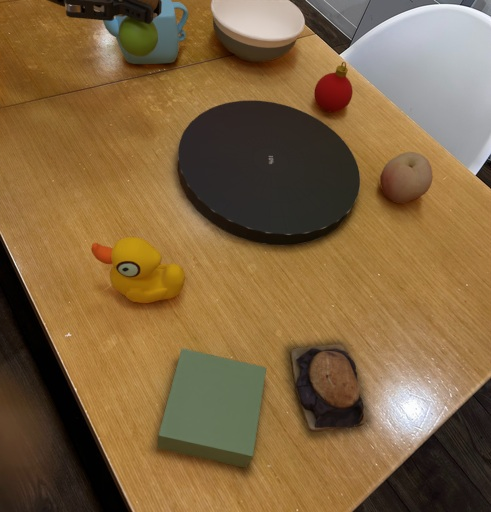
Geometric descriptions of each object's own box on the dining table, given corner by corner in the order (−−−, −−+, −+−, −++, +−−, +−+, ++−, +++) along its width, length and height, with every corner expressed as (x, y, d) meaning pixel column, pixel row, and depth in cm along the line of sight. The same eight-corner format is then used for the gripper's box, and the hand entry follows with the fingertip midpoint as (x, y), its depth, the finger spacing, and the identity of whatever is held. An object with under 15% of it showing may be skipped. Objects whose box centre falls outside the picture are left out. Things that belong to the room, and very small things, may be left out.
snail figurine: (120, 37, 73) (120, -52, 64) (161, 50, 73) (168, -37, 64) (105, 54, 70) (103, -36, 60) (149, 68, 70) (154, -21, 60)
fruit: (368, 176, 87) (386, 141, 80) (410, 178, 88) (431, 144, 82) (380, 211, 82) (400, 177, 76) (424, 213, 84) (447, 179, 77)
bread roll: (285, 350, 64) (292, 337, 61) (345, 345, 66) (355, 332, 63) (304, 433, 58) (312, 423, 55) (369, 425, 60) (381, 415, 57)
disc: (379, 239, 78) (387, 227, 76) (191, 252, 71) (193, 239, 68) (324, 114, 95) (329, 101, 92) (166, 113, 87) (167, 99, 85)
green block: (156, 448, 55) (158, 435, 51) (178, 365, 61) (181, 347, 57) (244, 467, 55) (253, 456, 51) (258, 383, 61) (266, 367, 57)
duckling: (91, 302, 64) (84, 257, 56) (101, 267, 67) (96, 220, 59) (179, 314, 65) (184, 272, 57) (185, 280, 68) (191, 236, 60)
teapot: (87, 32, 97) (82, -28, 88) (178, 32, 102) (182, -25, 93) (96, 71, 90) (91, 10, 81) (192, 69, 96) (197, 11, 87)
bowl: (271, 22, 111) (280, -16, 104) (310, 72, 102) (322, 35, 95) (193, 27, 104) (196, -12, 97) (227, 82, 95) (233, 43, 88)
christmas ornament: (350, 120, 95) (369, 75, 87) (315, 120, 93) (332, 74, 85) (338, 96, 99) (356, 51, 91) (305, 96, 97) (320, 49, 89)
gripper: (2, -45, 60) (130, 6, 59) (67, -81, 68) (181, -37, 67) (14, 14, 66) (130, 62, 65) (72, -25, 74) (177, 17, 73)
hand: (155, 12), depth 66 cm, fingers closed on snail figurine
